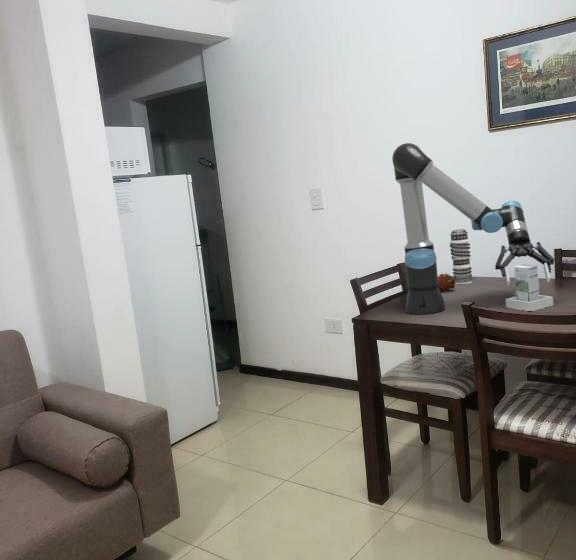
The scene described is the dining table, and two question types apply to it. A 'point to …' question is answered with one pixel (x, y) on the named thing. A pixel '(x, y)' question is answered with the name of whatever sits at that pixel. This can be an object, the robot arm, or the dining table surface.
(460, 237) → the decorative candle
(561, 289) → the dining table surface
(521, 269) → the syrup box
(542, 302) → the tray
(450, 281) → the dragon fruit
